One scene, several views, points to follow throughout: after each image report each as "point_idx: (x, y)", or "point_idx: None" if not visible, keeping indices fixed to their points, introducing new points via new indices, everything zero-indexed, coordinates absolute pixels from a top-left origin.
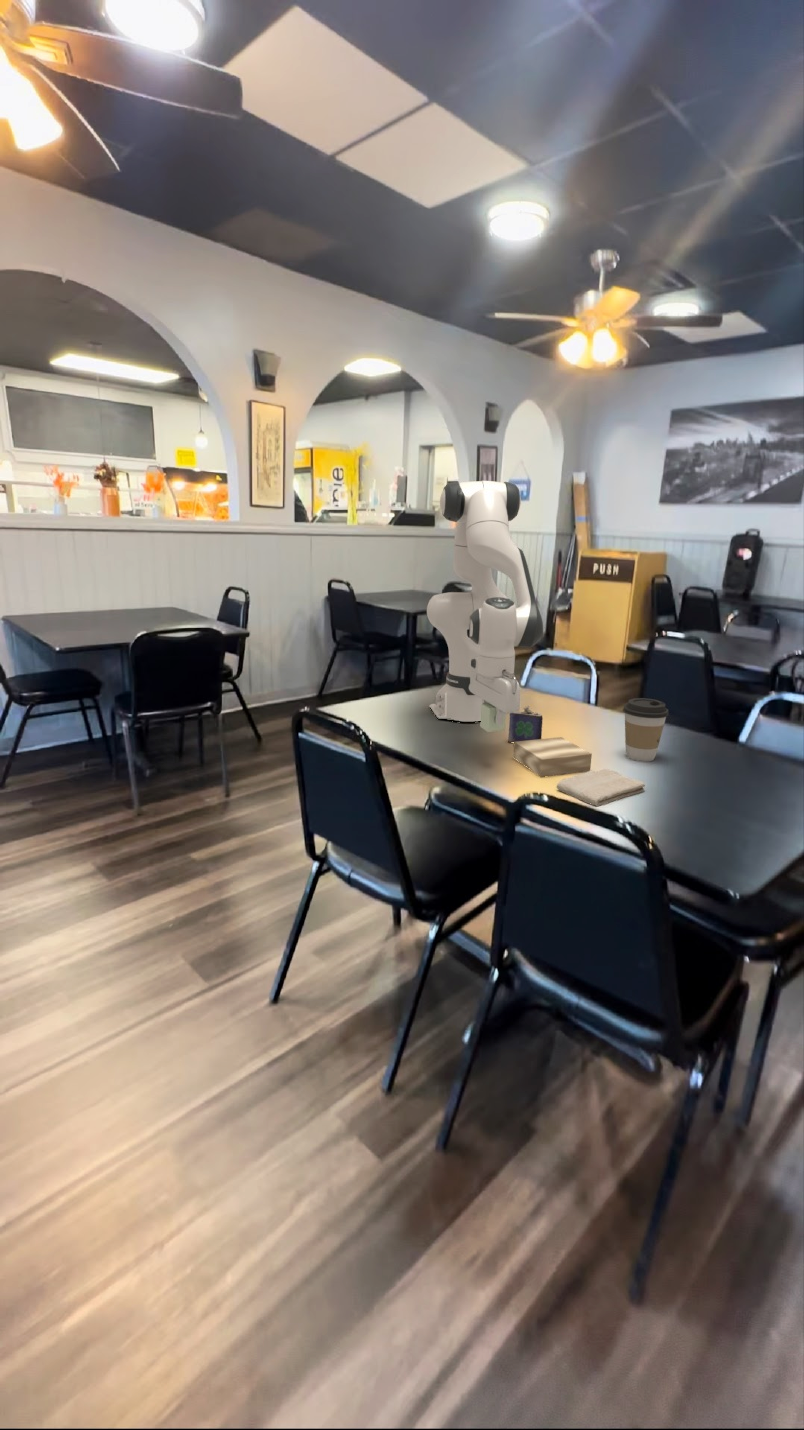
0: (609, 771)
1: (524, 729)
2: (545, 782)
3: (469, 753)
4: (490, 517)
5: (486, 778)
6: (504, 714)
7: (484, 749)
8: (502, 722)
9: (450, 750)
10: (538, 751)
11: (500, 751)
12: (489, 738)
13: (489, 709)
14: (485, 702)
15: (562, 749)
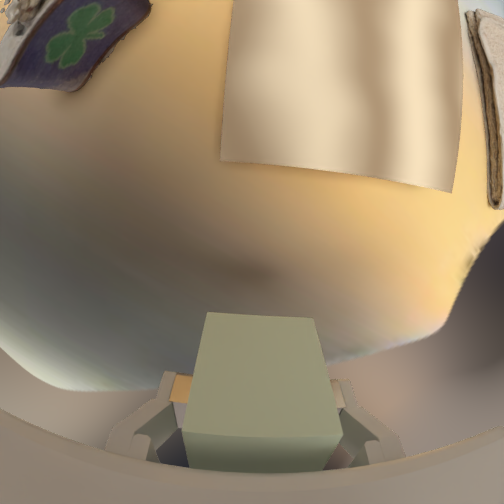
0: (494, 27)
1: (80, 35)
2: (448, 194)
3: (135, 271)
4: None
5: (347, 325)
6: (379, 424)
7: (110, 205)
8: (350, 384)
9: (103, 305)
10: (382, 139)
11: (142, 160)
12: (30, 140)
13: None
14: (158, 462)
15: (395, 34)
